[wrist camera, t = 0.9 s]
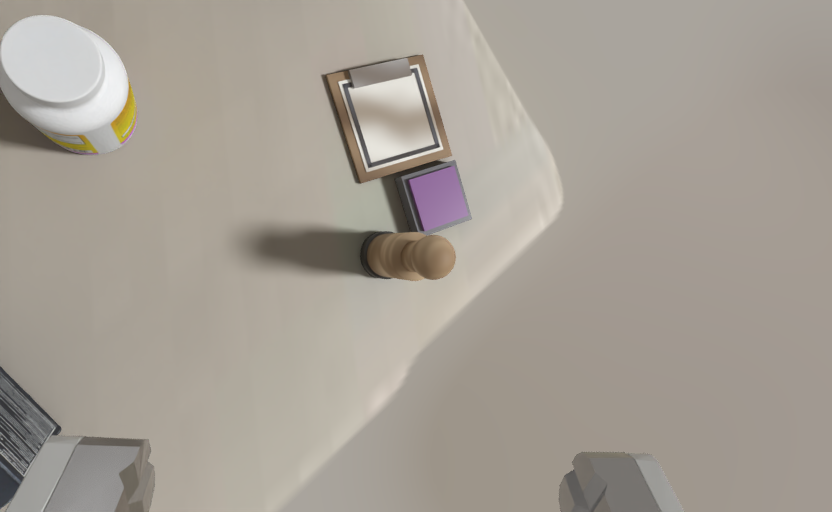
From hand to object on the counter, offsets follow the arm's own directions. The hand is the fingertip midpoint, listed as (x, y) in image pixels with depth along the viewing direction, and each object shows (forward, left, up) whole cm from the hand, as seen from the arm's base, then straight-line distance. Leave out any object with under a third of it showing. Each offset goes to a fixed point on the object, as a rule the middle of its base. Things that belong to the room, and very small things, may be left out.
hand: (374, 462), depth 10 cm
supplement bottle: (-16, -4, -38) cm, 41 cm away
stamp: (+2, +15, -37) cm, 40 cm away
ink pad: (-2, +21, -37) cm, 43 cm away
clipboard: (-10, +20, -37) cm, 44 cm away
